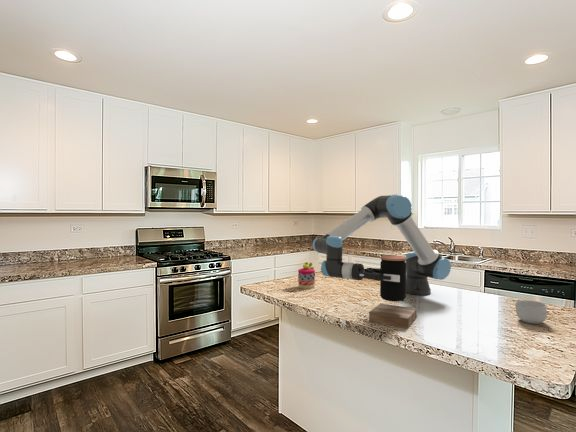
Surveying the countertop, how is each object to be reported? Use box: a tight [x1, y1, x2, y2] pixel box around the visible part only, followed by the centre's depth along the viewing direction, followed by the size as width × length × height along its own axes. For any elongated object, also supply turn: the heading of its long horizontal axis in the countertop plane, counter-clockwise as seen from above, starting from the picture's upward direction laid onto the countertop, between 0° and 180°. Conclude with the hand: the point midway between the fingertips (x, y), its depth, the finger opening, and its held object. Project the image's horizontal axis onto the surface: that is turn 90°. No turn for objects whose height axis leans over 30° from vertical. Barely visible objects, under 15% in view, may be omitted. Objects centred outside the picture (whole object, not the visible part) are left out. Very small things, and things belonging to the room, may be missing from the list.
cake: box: [297, 261, 316, 290], centre depth 205 cm, size 10×11×15 cm
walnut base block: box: [368, 303, 418, 329], centre depth 144 cm, size 16×16×4 cm
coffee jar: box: [379, 254, 407, 302], centre depth 144 cm, size 11×11×18 cm
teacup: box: [515, 299, 548, 325], centre depth 143 cm, size 14×11×8 cm
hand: (403, 276), depth 142 cm, fingers closed on coffee jar, 11 cm apart
